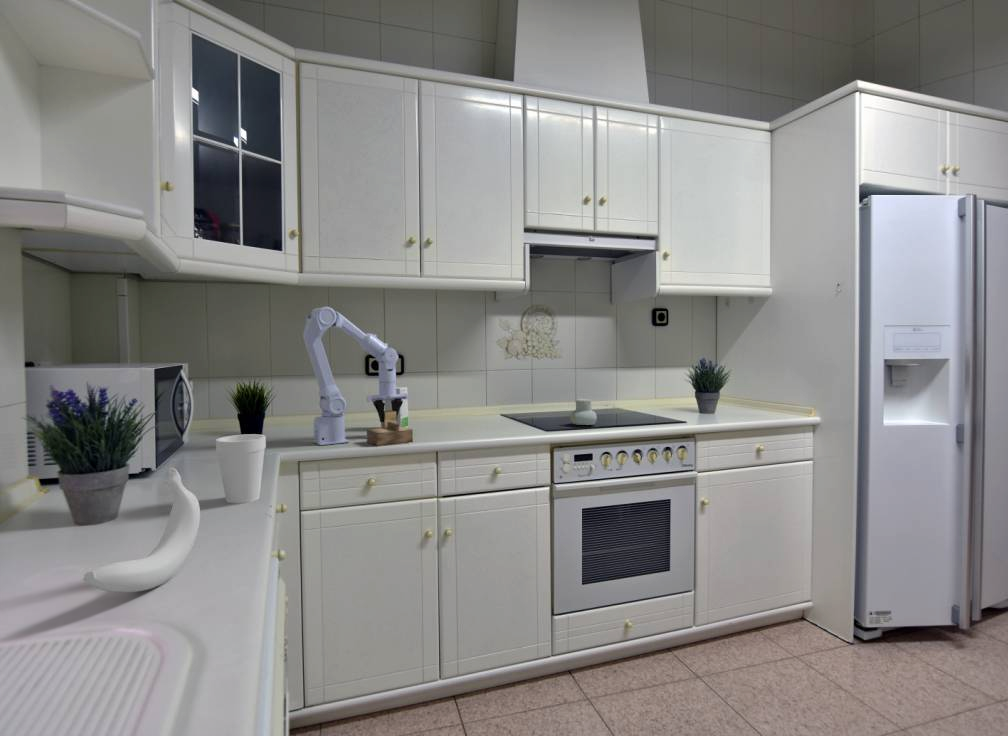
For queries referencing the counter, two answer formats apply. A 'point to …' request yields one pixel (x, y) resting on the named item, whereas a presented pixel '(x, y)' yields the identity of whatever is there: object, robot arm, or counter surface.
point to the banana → (166, 553)
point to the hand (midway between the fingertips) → (388, 421)
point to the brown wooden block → (389, 437)
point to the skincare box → (403, 412)
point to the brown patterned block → (388, 418)
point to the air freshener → (583, 413)
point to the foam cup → (241, 466)
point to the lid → (390, 428)
